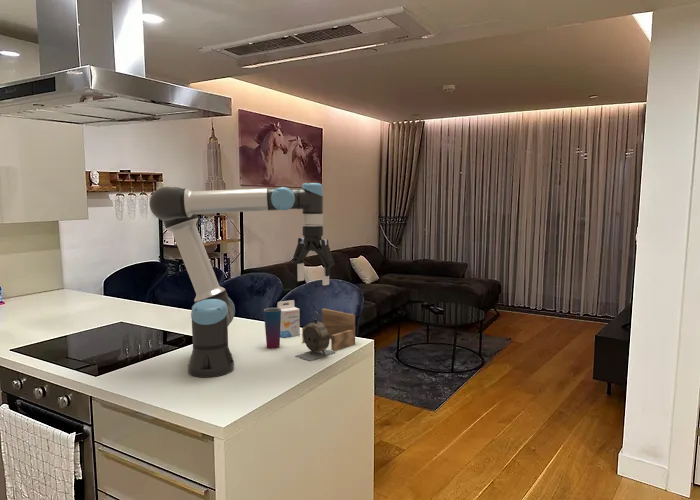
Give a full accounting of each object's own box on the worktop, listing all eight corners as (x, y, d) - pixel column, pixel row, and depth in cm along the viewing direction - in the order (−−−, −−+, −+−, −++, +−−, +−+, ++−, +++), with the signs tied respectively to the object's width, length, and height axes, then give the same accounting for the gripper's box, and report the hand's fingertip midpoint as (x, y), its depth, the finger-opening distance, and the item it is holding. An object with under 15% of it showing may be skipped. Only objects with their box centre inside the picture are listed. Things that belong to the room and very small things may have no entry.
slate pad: (310, 361, 176) (310, 360, 176) (295, 356, 182) (295, 355, 181) (335, 353, 186) (335, 352, 186) (320, 348, 191) (320, 347, 191)
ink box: (282, 338, 206) (281, 303, 205) (277, 335, 210) (276, 301, 209) (300, 335, 211) (299, 301, 209) (295, 332, 215) (294, 299, 213)
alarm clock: (330, 355, 181) (330, 312, 180) (319, 358, 178) (319, 315, 176) (312, 349, 189) (311, 308, 188) (300, 352, 186) (300, 310, 184)
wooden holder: (334, 351, 188) (333, 320, 187) (302, 342, 200) (302, 313, 199) (355, 344, 197) (355, 314, 196) (324, 335, 209) (323, 308, 208)
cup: (285, 346, 195) (284, 309, 193) (273, 350, 189) (272, 312, 188) (272, 343, 199) (272, 307, 197) (260, 347, 193) (260, 310, 192)
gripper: (344, 226, 174) (344, 285, 176) (298, 224, 191) (298, 277, 193) (329, 227, 168) (329, 288, 170) (283, 224, 185) (283, 280, 187)
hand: (313, 282), depth 182 cm, fingers open, 13 cm apart
